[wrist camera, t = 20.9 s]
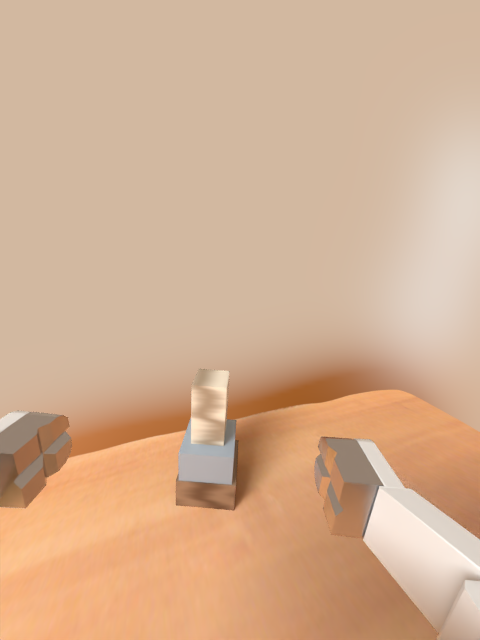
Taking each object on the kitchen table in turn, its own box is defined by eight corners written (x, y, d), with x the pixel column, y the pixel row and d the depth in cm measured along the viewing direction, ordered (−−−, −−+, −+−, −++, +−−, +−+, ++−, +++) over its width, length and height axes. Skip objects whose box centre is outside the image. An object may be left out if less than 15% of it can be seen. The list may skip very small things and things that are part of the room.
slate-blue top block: (234, 443, 43) (236, 420, 42) (231, 484, 35) (233, 457, 34) (190, 439, 43) (191, 416, 42) (178, 480, 35) (178, 453, 34)
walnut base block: (236, 461, 45) (238, 440, 44) (233, 511, 36) (235, 486, 35) (189, 458, 45) (190, 436, 44) (176, 506, 36) (175, 481, 35)
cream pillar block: (226, 423, 40) (229, 371, 38) (223, 446, 36) (227, 387, 33) (197, 421, 41) (198, 368, 38) (190, 443, 36) (191, 385, 33)
